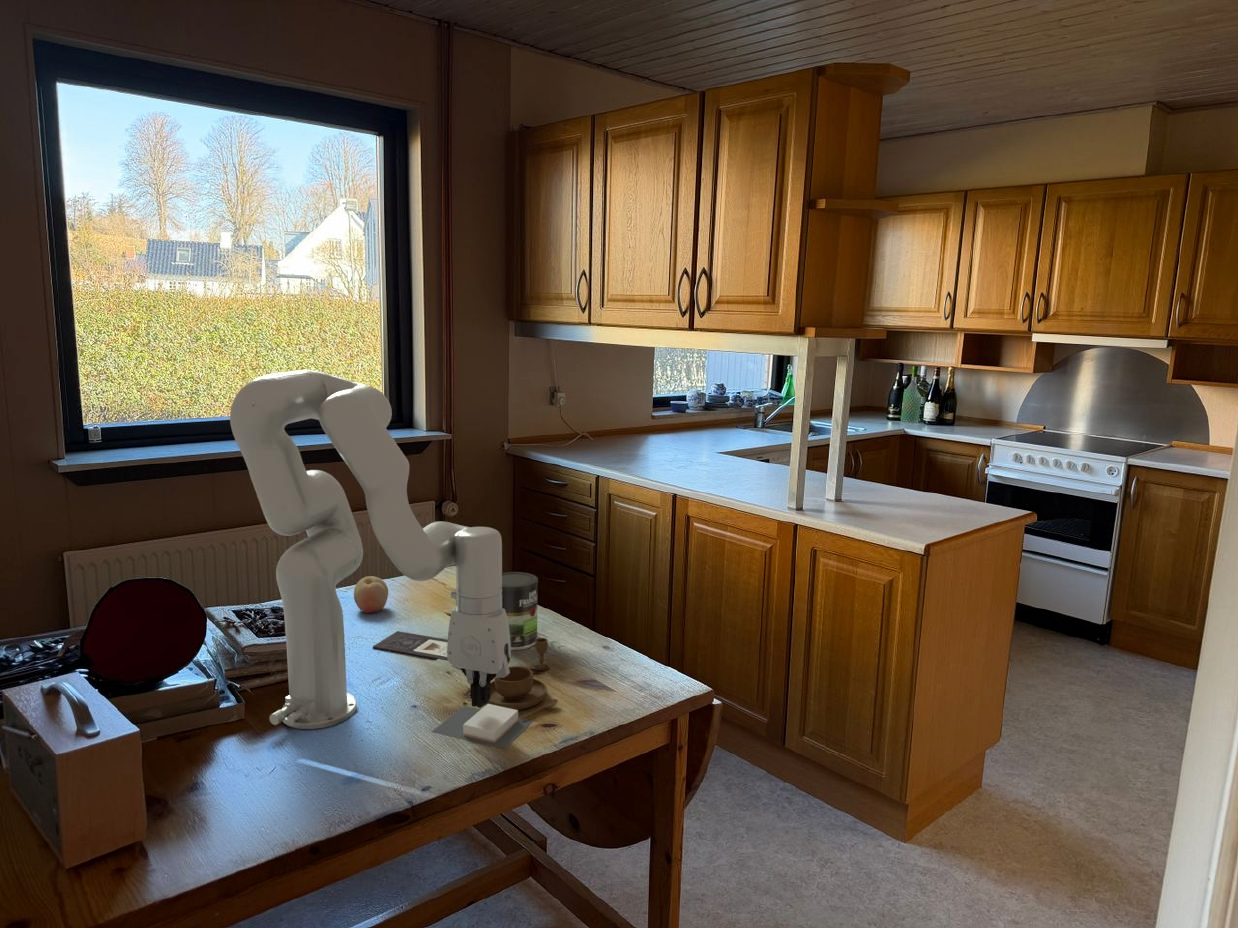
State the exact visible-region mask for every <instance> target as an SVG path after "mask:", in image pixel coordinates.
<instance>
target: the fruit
mask: <svg viewBox="0 0 1238 928" xmlns="http://www.w3.org/2000/svg"><path fill="white" fill-rule="evenodd" d="M353 599H354V600H353V601H354V602H355V605H356V606H357V607H358V609H359V610H360V611H362V612H363V613H366V614H372V613H377V612H379V611H381V610H382V609H384V607H385V606H386V604H387V601H388V599H389V588H388V586H387V583H386V582H385V581H384V580H383V579H382V578H380V577H377V576H373V575H370V576H368V575H367V576H364V577H363V578H361V579H360V580H359V581H357V583H356V585H355V586H354V589H353Z"/></svg>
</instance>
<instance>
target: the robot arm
mask: <svg viewBox="0 0 1238 928" xmlns="http://www.w3.org/2000/svg"><path fill="white" fill-rule="evenodd" d="M392 412H393V411H392V406H391V404H390V401H389V399H388V398H387V396H386V395H385V394H384V393H383V392H381V391H380V390H379V389H376V387H373V386H371V385H367V384H365V383H360V382H357V381H354V380H353V381H352V380H350V379H345V378H343V377H339V376H336V375H333V374H330V373H326V372H322V371H318V370H312V369H298V370H291V371H282V372H274V373H269V374H265V375H262V376H259V377H256V378H255V379H252V380H250V381H249V382H248V383H246V384H245V385H244V386H243V387H242V388H241V389H240V390H239V391H238V392H237V394H236V395H235V397H234V399H233V401H232V403H231V407H230V411H229V422H230V427H231V431H232V435H233V437H234V440H235V442H236V444H237V446H238V448H239V451H240V453H241V455H242V457H243V459H244V462H245V464H246V467H247V470H248V473H249V477H250V480H251V483H252V485H253V488H254V491H255V493H256V497H257V499H258V502H259V505H260V508H261V510H262V513H263V516H264V518H265V520H266V523H267V524H268V526H269V528H271V530H272V531H273V532H274V533H276V534H278V535H281V536H284V537H285V536H289V537H290V536H295V535H298V534H300V533H301V534H302V533H303V532H306V534H307V537H306V538H304V539H302V540H300V541H298V542H296V543H295V544H293V545H291V546H290V547H289V548H288V549H286V551H284V553H283V554H282V555H281V556H280V558H279V560H278V561H277V565H276V570H275V574H276V576H275V577H276V578H275V579H276V583H277V587H278V590H279V594H280V598H281V604H282V607H283V608H282V609H283V616H284V618H283V619H284V631H285V640H286V644H285V646H286V658H287V660H286V661H287V677H288V693H289V695H287V696H285V699H284V700H285V703H284V704H283V705H282V708H281V709H278V710H276V711H275V712H273V713H271V714H270V715H269V717H268V718H269V722H270V723H271V724H272V725H274V726H276V725H278V724H280V723H281V722H282V723H283V724H285V725H286V726H288V727H290V728H294V729H298V730H299V729H300V730H316V729H323V728H327V727H328V728H329V727H332V726H335V725H338V724H341V723H342V722H345V721H346V720H348V719H349V718H351V717H352V716H353V714H355V712H356V711H357V707H358V705H357V700H356V697H354V695H352V694H351V693H349V692H348V690H347V686H348V685H347V670H346V669H347V666H346V665H347V664H346V645H345V643H346V642H345V625H344V623H345V622H344V614H343V612H344V611H343V607H342V604H341V601H340V598H339V596H338V594H337V585H338V584H339V583H340V582H342V581H343V580H345V579H346V578H347V577H349V576H351V575H352V574H353V573H354V572H356V570H358V568H359V566H360V565H361V563H362V561H363V559H364V557H363V556H364V547H363V542H362V539H361V536H360V533H359V529H358V527H357V523H356V521H355V518H354V515H353V513H352V509H351V507H350V503H349V501H348V498H347V494H346V492H345V490H344V489H343V486H342V485H341V484H340V482H339V481H338V480H337V479H336V478H335V477H334V476H333V475H332V474H330V473H328V472H326V471H323V470H320V469H319V470H318V469H310V470H306V467H305V465H304V462H303V459H302V455H301V452H300V450H299V448H298V446H297V444H296V443H295V442H294V440H293V439H292V438H291V436H290V435H289V434H288V433H287V431H286V430H285V428H286V426H287V425H288V424H293V423H296V422H300V421H305V420H309V419H310V420H311V419H313V420H318V421H319V423H320V426H321V428H322V431H323V432H324V433H325V435H326V436H327V438H328V439H329V441H330V442H331V443H332V445H333V447H334V448H335V450H336V451H337V452H338V454H339V456H340V457H341V458H342V460H343V461H344V463H345V464H346V465H347V467H348V468H349V470H350V471H351V473H352V474H353V476H354V478H355V479H356V480H357V482H358V483H359V485H360V487H361V488H362V491H363V492H364V497H365V503H366V509H367V513H368V516H369V517H368V518H369V521H370V525H371V527H372V531H373V533H374V536H375V538H376V540H377V541H378V543H379V545H380V546H381V548H382V549H383V550H384V552H385V554H386V555H387V557H388V558H389V560H390V561H391V562H392V564H393V565H394V566H395V567H396V568H397V570H398V571H399V572H401V574H403V575H404V576H405V577H406V578H408V579H410V580H412V581H416V582H426V581H430V580H432V579H434V578H435V577H437V576H438V575H439V574H440V573H442V572H443V571H444V570H445V569H446V568H449V567H451V566H455V582H456V583H455V584H456V585H455V586H456V587H455V588H456V590H452V591H451V592H450V598H451V599H454V600H455V606H454V607H452V609H451V614H450V618H449V623H448V632H447V640H448V642H447V659H448V661H447V662H448V663H449V664H450V665H451V666H452V667H453V668H455V669H457V670H459V671H461V672H462V673H463V675H464V676H465V677H466V681H467V683H468V684H469V686H470V689H469V690H470V693H469V694H470V699H471V707H473V708H476V707H477V709H482V708H483V707H484V706H486V705H487V702H488V701H489V700H490V696H491V691H490V682H492V681H494V680H495V678H503V677H506V676H507V675H509V673H510V671H509V667H510V666H509V664H510V662H511V658H512V657H511V656H512V655H511V653H512V650H511V644H510V632H509V625H508V619H507V615H506V611H505V609H503V608H502V573H503V542H502V535H501V533H500V531H499V530H497V529H495V528H492V527H489V526H472V527H470V526H465V525H460V524H457V523H452V522H449V521H440V520H439V521H433V522H431V523H430V524H427V525H426V526H425V527H422V525H420V523H419V521H418V520H417V518H416V516H415V514H414V513H413V510H412V508H411V505H410V504H409V498H408V491H407V489H408V481H409V475H410V463H409V460H408V458H407V457H406V455H405V454H404V453H403V451H402V450H401V448H400V447H399V446H398V444H397V441H395V439H394V438H393V437H392V435H391V434H390V432H389V430H388V429H387V427H388V426H389V425H390V422H391V420H392V415H393V413H392Z"/></svg>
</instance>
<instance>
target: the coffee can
mask: <svg viewBox="0 0 1238 928" xmlns="http://www.w3.org/2000/svg"><path fill="white" fill-rule="evenodd" d="M538 584H539V578H538V577H537V575H535V574H533V573H528V572H522V571H507V572H502V608H503V609H505V611H506V615H507V619H508V625H509V632H510V644H511V651H521V650H522V651H523V650H527V649H529V648H532V647H535V640H536V639H538Z"/></svg>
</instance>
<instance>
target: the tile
mask: <svg viewBox="0 0 1238 928" xmlns="http://www.w3.org/2000/svg"><path fill="white" fill-rule="evenodd" d="M480 709H481V710H480V711H479V712H477V713H476V714H475V715H474V716H473V717H471V718H470V719H469V720H468V721H467V722H466V723H464V724H463V735H464V736H468V737H472V738H476V739H480V740H484V741H489V742H493V743H495V742H496V741H497V740H498V739H500V738H501V737H502V736H503V735H504V734H505V733H506V732H507V731H508V730H509V729H510V728H511V727H512V726H513V725H514V724H515V723H516V722H517V721H518V718H519V710H514V709H510V708H505V707H501V706H496V705H492V704H487V703H486V704H485V705H484V706H482V707H481V708H480Z"/></svg>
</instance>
